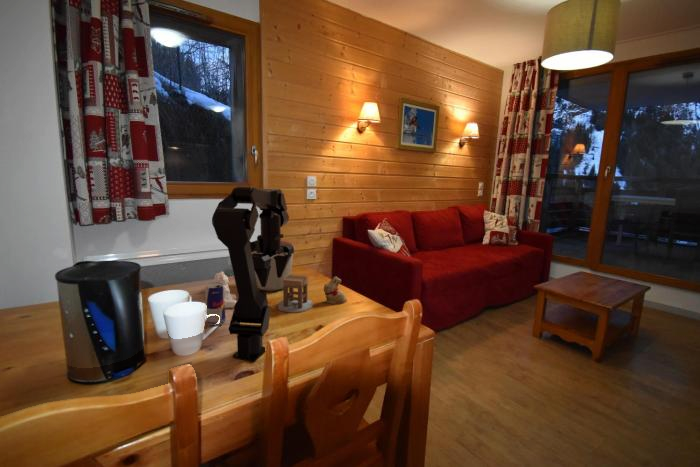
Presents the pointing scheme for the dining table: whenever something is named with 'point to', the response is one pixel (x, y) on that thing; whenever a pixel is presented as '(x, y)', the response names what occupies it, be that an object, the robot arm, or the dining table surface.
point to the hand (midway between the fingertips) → (271, 282)
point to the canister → (275, 274)
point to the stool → (292, 283)
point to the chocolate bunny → (334, 292)
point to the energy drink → (215, 302)
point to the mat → (295, 306)
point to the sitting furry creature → (226, 290)
